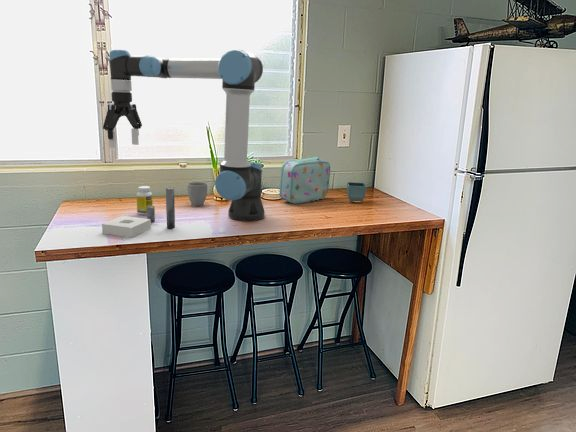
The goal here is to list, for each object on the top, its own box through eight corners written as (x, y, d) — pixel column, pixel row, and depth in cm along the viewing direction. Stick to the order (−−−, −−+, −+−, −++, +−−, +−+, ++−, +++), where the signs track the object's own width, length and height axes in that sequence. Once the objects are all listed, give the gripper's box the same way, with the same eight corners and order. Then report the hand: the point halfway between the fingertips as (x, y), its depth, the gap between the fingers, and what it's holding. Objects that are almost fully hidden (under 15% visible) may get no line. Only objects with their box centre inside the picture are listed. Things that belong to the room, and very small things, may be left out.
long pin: (176, 227, 178) (175, 188, 174) (172, 229, 175) (171, 189, 171) (169, 226, 179) (168, 187, 175) (165, 228, 176) (164, 188, 172)
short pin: (156, 221, 184) (155, 206, 183) (152, 223, 182) (151, 208, 180) (149, 220, 185) (149, 205, 184) (145, 222, 182) (144, 207, 181)
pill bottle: (148, 215, 192) (147, 189, 189) (134, 214, 193) (133, 187, 190) (155, 212, 197) (154, 186, 195) (141, 210, 199) (140, 185, 196)
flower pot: (365, 204, 227) (367, 186, 225) (347, 203, 227) (348, 185, 225) (363, 200, 235) (364, 182, 233) (345, 199, 235) (346, 182, 233)
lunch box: (315, 195, 242) (318, 154, 236) (330, 199, 234) (333, 156, 229) (276, 202, 224) (278, 157, 219) (291, 206, 217) (293, 160, 211)
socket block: (151, 228, 175) (150, 219, 174) (132, 237, 164) (131, 227, 163) (123, 224, 178) (122, 215, 177) (102, 233, 167) (101, 223, 166)
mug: (210, 206, 211) (210, 185, 209) (191, 207, 207) (190, 186, 205) (201, 200, 221) (201, 180, 219) (183, 201, 217) (182, 181, 215)
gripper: (134, 91, 196) (136, 142, 202) (90, 90, 174) (94, 148, 179) (149, 92, 194) (151, 143, 199) (106, 91, 171) (110, 149, 177)
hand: (124, 146), depth 189 cm, fingers open, 13 cm apart
